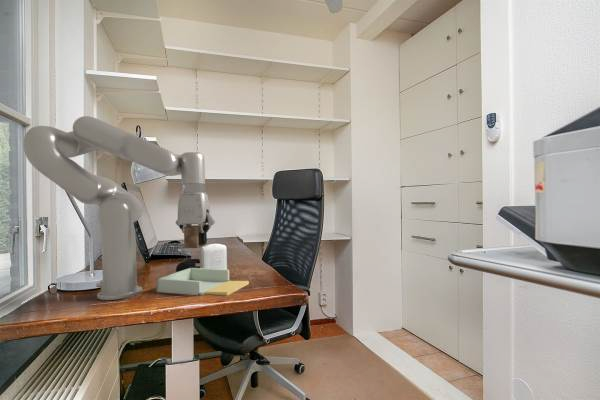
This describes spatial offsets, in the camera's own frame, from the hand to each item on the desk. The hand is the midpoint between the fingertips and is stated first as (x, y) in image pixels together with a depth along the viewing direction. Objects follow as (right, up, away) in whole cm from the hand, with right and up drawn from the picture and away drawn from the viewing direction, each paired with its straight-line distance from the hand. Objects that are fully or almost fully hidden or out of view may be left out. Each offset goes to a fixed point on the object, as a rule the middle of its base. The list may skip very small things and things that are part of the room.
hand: (195, 244), depth 106 cm
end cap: (-9, -16, +19) cm, 26 cm away
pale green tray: (0, -15, 0) cm, 15 cm away
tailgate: (+7, -14, -2) cm, 16 cm away
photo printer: (+1, -15, +20) cm, 25 cm away
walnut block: (0, -1, 0) cm, 1 cm away
